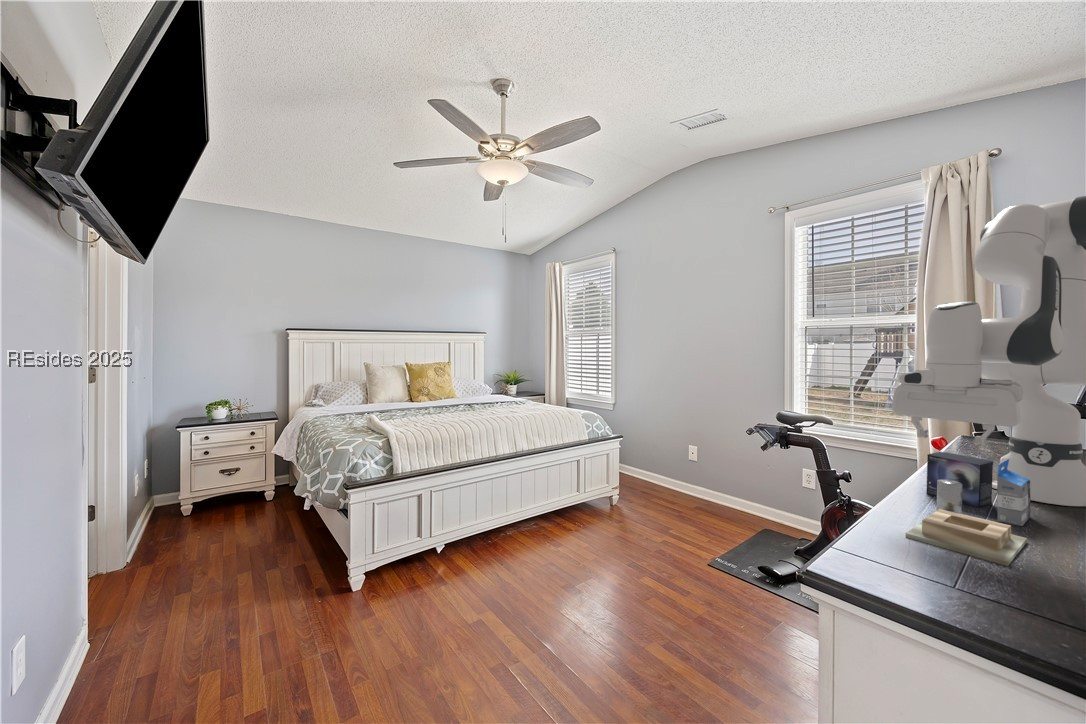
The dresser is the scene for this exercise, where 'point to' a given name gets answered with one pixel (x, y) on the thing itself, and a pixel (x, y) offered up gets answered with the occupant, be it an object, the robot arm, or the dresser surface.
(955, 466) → the small box
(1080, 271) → the robot arm
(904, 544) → the dresser surface
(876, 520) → the dresser surface
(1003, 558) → the hub block
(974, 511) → the dresser surface
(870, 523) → the dresser surface
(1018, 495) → the label tape box
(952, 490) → the peg
